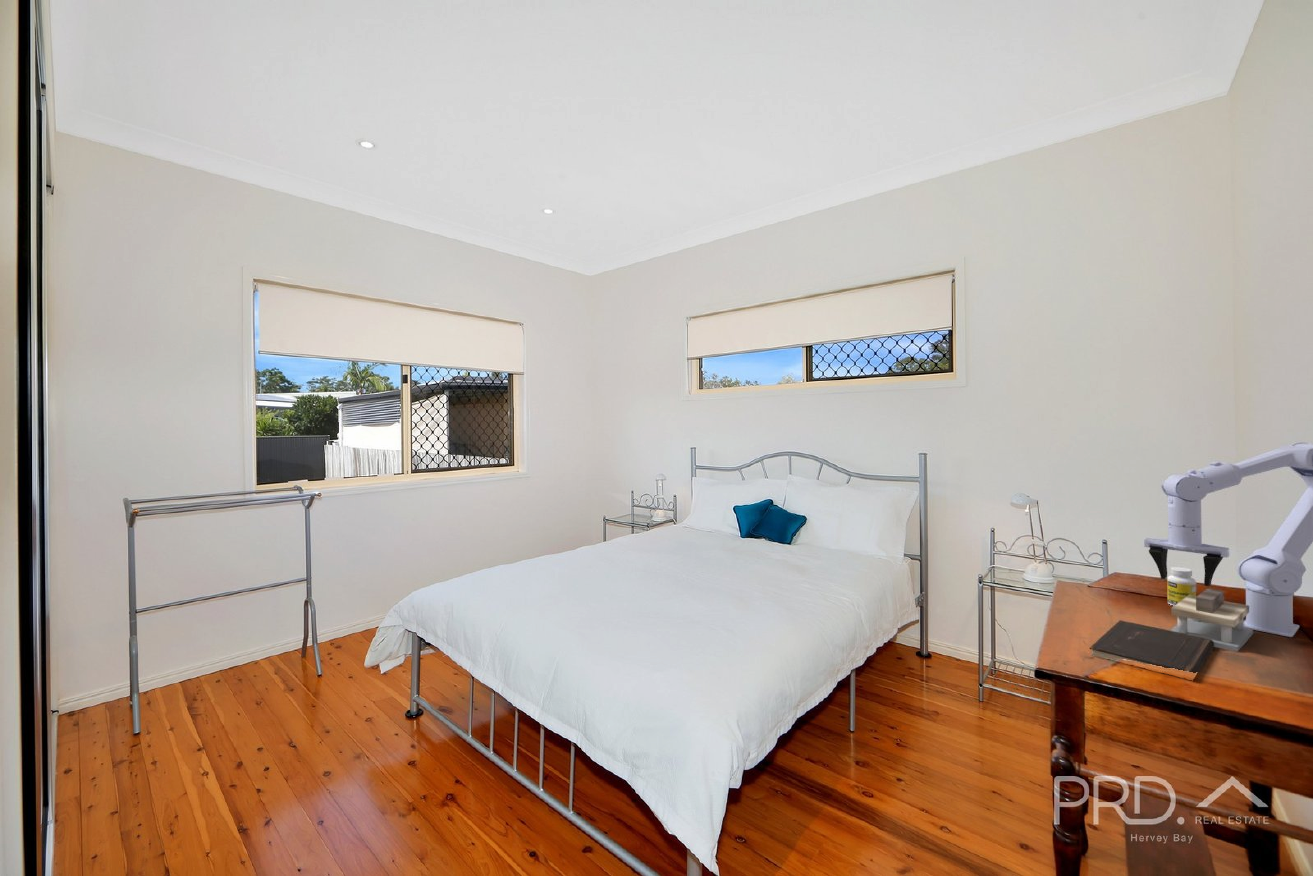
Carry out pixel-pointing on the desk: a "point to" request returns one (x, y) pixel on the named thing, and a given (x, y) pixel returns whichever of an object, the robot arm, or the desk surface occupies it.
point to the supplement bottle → (1180, 585)
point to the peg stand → (1215, 632)
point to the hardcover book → (1153, 646)
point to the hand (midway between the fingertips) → (1185, 581)
